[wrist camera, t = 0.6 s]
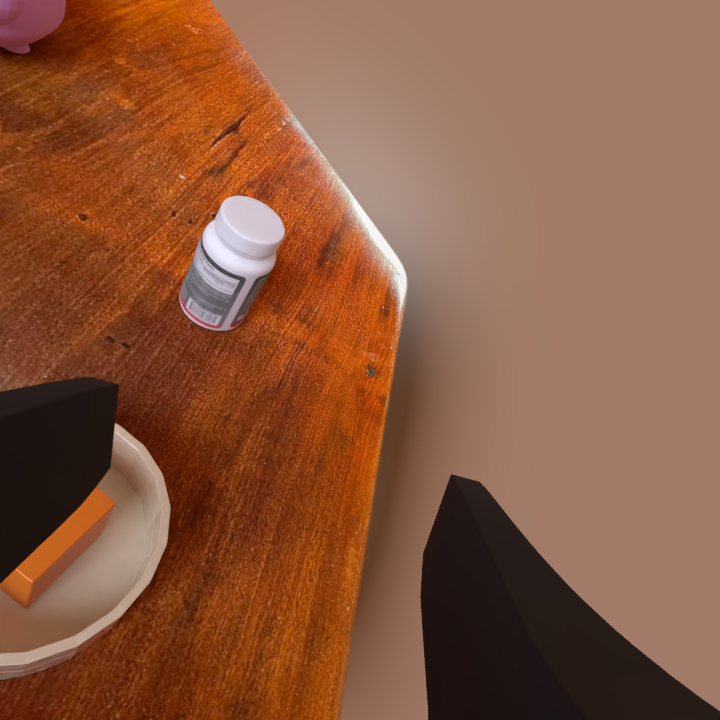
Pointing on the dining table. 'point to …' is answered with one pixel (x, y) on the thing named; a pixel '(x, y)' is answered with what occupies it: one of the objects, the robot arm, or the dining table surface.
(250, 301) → the pill bottle
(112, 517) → the bowl
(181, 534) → the dining table surface
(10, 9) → the teapot
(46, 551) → the block
